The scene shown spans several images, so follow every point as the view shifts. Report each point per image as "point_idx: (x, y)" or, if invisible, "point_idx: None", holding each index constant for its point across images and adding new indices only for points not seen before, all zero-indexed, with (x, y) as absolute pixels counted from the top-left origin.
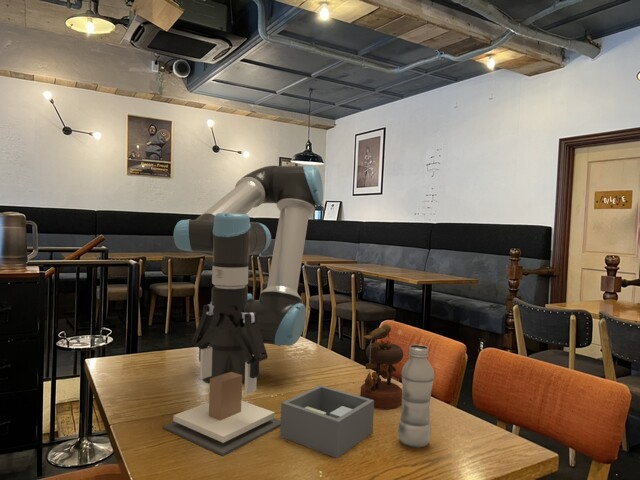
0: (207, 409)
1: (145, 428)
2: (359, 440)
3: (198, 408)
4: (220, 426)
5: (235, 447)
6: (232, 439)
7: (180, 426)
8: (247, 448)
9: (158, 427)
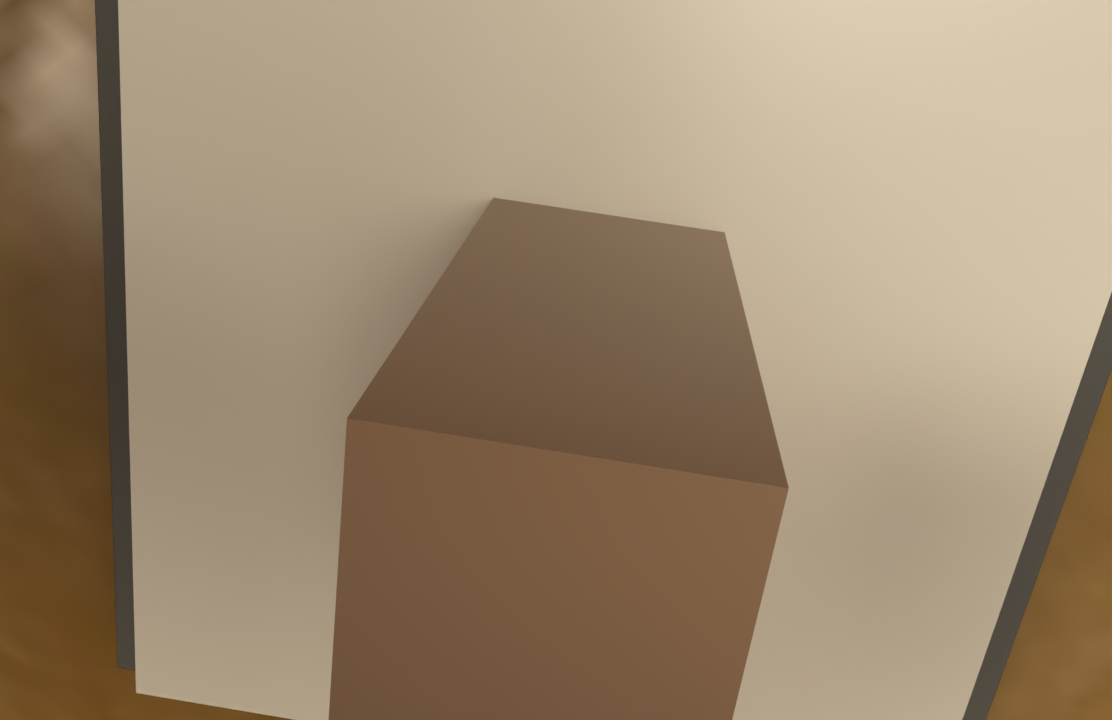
0: (299, 400)
1: (16, 712)
2: None
3: (190, 433)
4: (756, 679)
5: (997, 681)
6: None
7: None
8: (1089, 601)
9: (81, 653)
